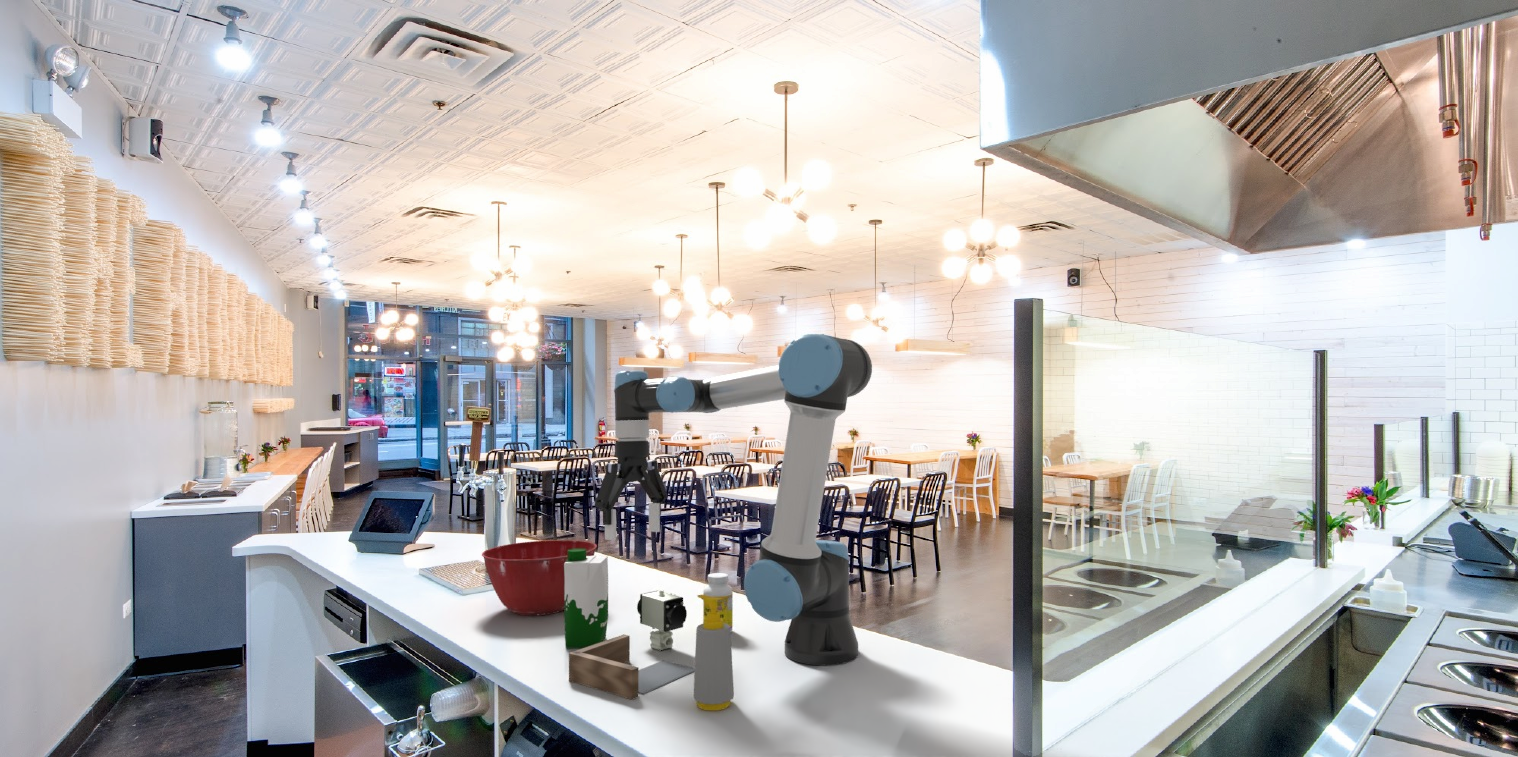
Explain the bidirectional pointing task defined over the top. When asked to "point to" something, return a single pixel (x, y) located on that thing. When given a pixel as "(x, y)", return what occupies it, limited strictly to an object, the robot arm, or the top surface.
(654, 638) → the pneumatic valve
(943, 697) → the top surface
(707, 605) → the supplement bottle
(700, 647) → the soap bottle
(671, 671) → the slate pad
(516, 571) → the mixing bowl
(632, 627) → the top surface
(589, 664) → the walnut corner
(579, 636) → the milk carton
